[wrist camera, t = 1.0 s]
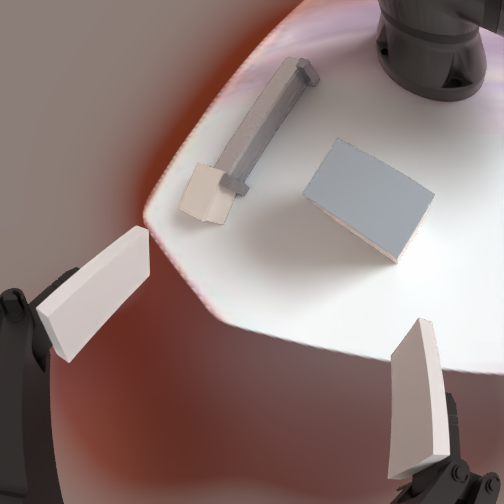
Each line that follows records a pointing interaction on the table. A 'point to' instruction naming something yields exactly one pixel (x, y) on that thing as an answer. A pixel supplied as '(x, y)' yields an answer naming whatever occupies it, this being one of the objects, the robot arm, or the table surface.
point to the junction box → (207, 195)
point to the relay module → (370, 199)
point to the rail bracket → (263, 122)
